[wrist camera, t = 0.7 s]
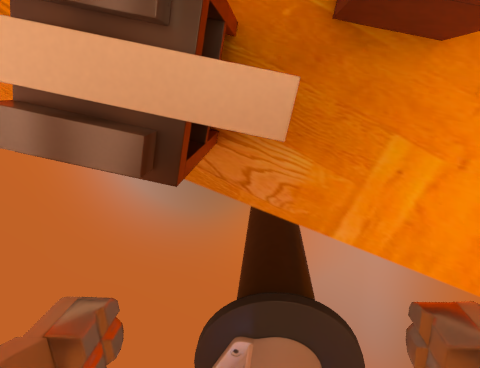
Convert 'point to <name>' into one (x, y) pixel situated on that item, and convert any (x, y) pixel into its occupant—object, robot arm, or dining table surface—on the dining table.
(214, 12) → the walnut shelf
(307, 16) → the dining table surface
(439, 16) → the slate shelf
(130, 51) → the cream rectangular block
